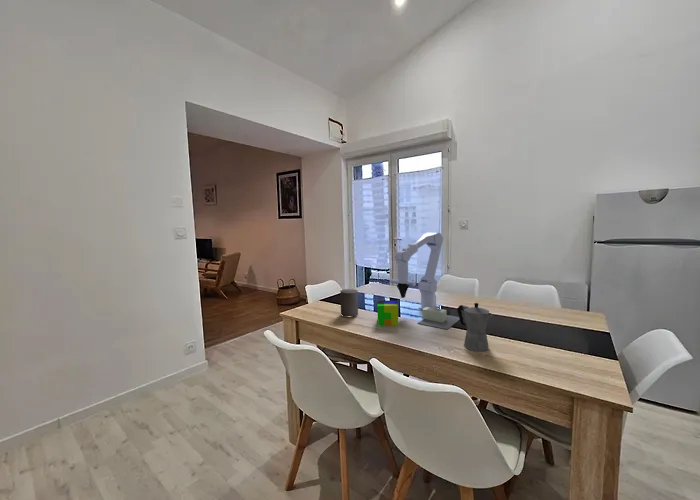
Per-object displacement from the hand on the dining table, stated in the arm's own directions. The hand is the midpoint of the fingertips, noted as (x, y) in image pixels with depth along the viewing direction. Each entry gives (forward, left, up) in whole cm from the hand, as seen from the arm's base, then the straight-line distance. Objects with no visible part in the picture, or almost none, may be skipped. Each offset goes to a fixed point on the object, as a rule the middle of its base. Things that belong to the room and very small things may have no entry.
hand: (403, 297), depth 166 cm
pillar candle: (+17, -24, -10) cm, 31 cm away
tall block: (0, +12, -6) cm, 14 cm away
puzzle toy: (+16, 0, -10) cm, 19 cm away
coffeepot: (+22, +44, -10) cm, 50 cm away
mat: (0, +21, -9) cm, 23 cm away
